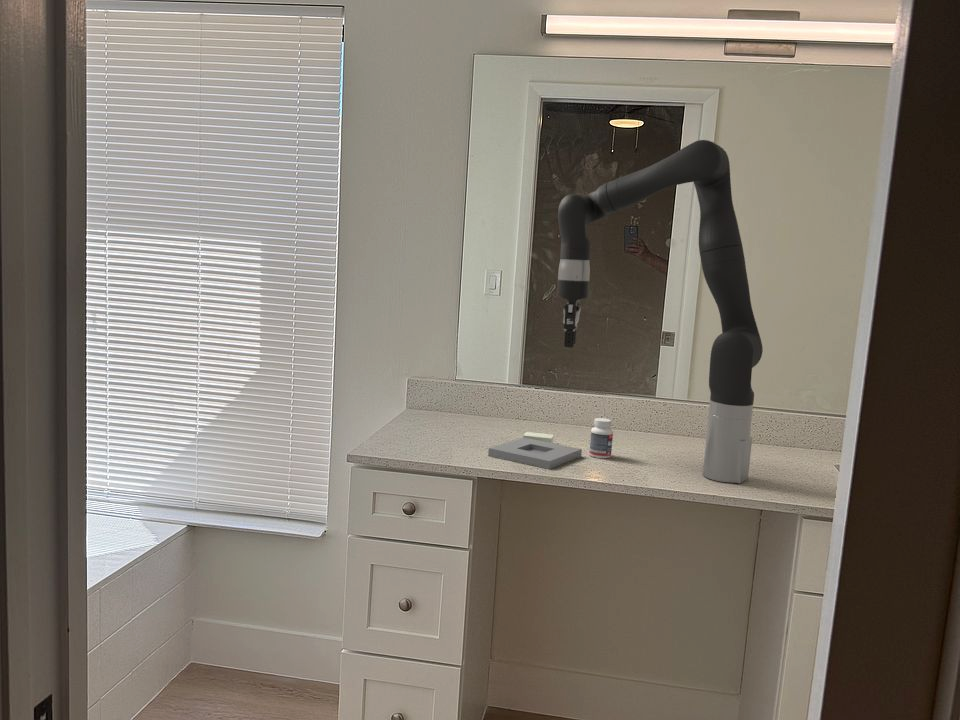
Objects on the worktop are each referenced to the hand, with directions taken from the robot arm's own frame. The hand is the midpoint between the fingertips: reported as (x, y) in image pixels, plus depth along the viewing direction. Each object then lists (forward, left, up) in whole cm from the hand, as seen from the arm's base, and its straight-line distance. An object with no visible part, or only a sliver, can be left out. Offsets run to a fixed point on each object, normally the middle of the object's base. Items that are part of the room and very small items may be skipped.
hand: (569, 345), depth 209 cm
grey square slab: (0, +14, -25) cm, 29 cm away
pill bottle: (-11, +2, -26) cm, 28 cm away
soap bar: (+6, +2, -26) cm, 26 cm away
